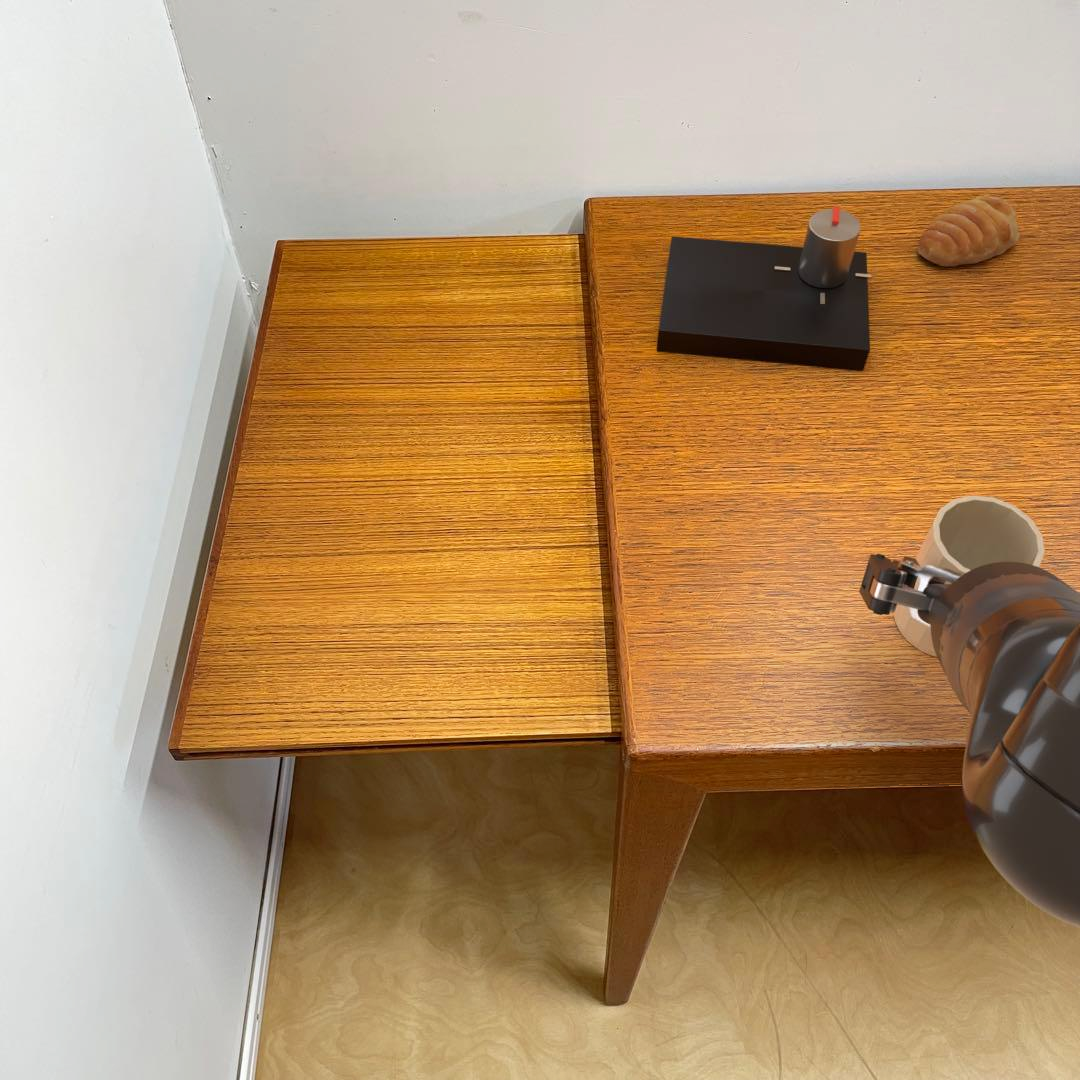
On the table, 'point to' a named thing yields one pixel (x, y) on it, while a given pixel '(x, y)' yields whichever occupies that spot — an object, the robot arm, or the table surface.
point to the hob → (761, 306)
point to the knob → (829, 248)
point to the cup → (971, 548)
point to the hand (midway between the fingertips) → (972, 590)
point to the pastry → (970, 232)
